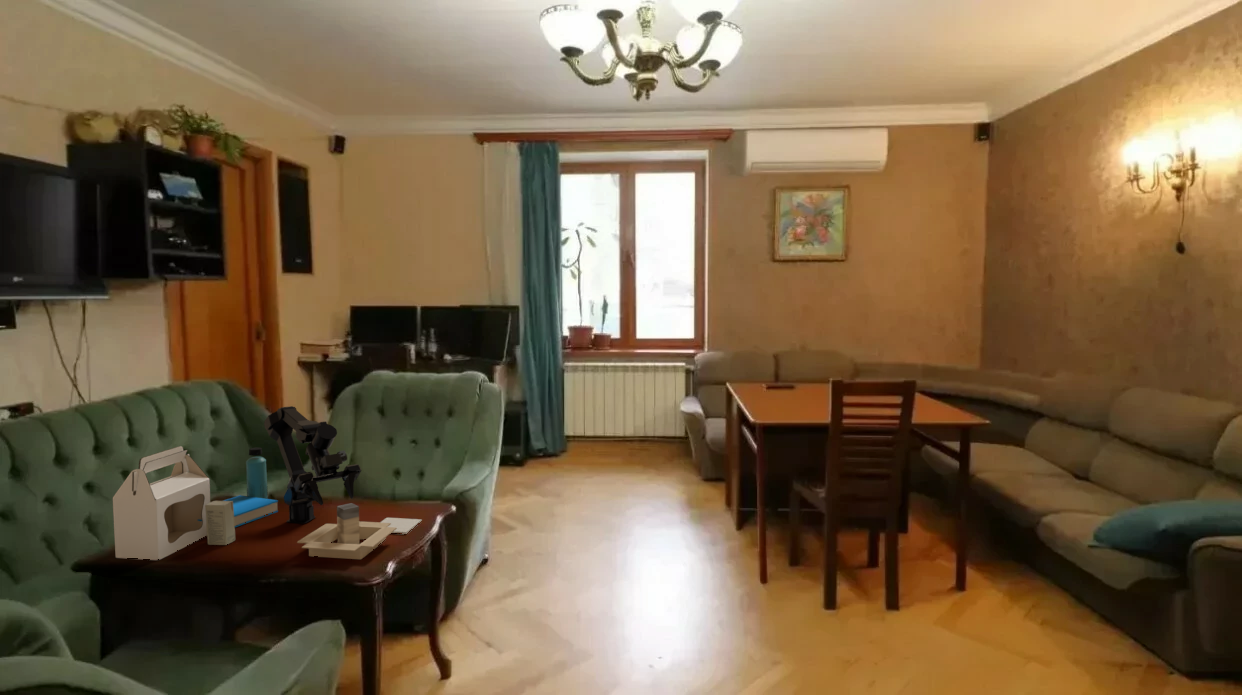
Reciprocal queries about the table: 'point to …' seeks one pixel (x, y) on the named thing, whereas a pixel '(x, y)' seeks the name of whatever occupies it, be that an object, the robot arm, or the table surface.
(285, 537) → the table surface
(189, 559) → the table surface
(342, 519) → the capped block
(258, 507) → the book
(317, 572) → the table surface
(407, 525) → the white square tile
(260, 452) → the beverage bottle
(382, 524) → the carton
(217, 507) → the skincare box
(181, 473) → the gable box
